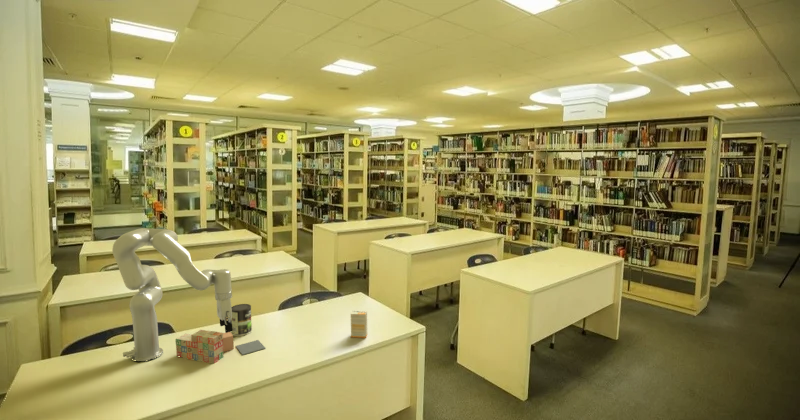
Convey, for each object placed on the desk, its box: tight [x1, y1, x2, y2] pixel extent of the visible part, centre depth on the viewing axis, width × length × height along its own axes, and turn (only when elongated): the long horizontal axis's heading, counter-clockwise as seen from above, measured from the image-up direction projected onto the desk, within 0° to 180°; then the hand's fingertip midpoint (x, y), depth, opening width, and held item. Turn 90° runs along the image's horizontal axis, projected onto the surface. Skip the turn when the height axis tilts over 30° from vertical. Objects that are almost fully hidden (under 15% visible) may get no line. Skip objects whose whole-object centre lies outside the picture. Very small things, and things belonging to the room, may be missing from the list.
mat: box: [235, 339, 266, 356], centre depth 189 cm, size 11×11×1 cm
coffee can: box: [231, 303, 253, 337], centre depth 206 cm, size 10×10×14 cm
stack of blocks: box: [175, 329, 224, 364], centre depth 179 cm, size 21×6×12 cm, turn 75°
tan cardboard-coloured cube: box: [222, 331, 235, 353], centre depth 188 cm, size 6×6×7 cm
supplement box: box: [350, 310, 368, 339], centre depth 203 cm, size 8×5×13 cm, turn 84°
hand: (226, 328), depth 187 cm, fingers open, 9 cm apart
